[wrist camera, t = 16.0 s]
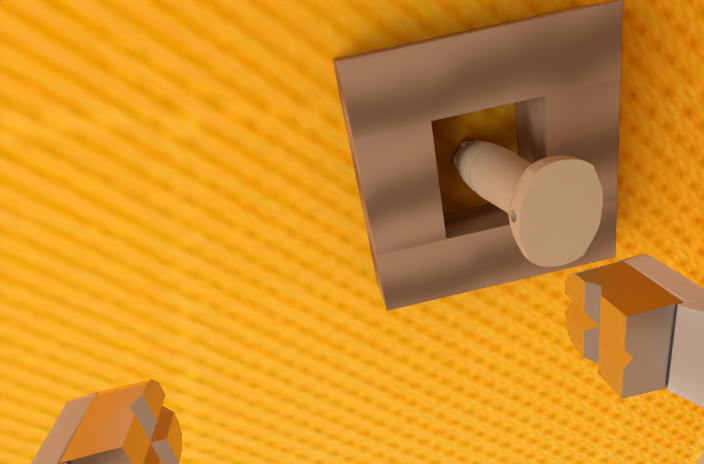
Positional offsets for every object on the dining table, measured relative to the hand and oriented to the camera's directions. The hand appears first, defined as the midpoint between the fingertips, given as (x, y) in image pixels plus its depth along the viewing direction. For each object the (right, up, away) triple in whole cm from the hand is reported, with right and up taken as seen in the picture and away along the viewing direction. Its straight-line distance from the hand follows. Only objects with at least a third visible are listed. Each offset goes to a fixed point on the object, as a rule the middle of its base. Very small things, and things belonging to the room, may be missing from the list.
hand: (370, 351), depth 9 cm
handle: (+10, +9, +31) cm, 34 cm away
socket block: (+10, +9, +31) cm, 33 cm away
